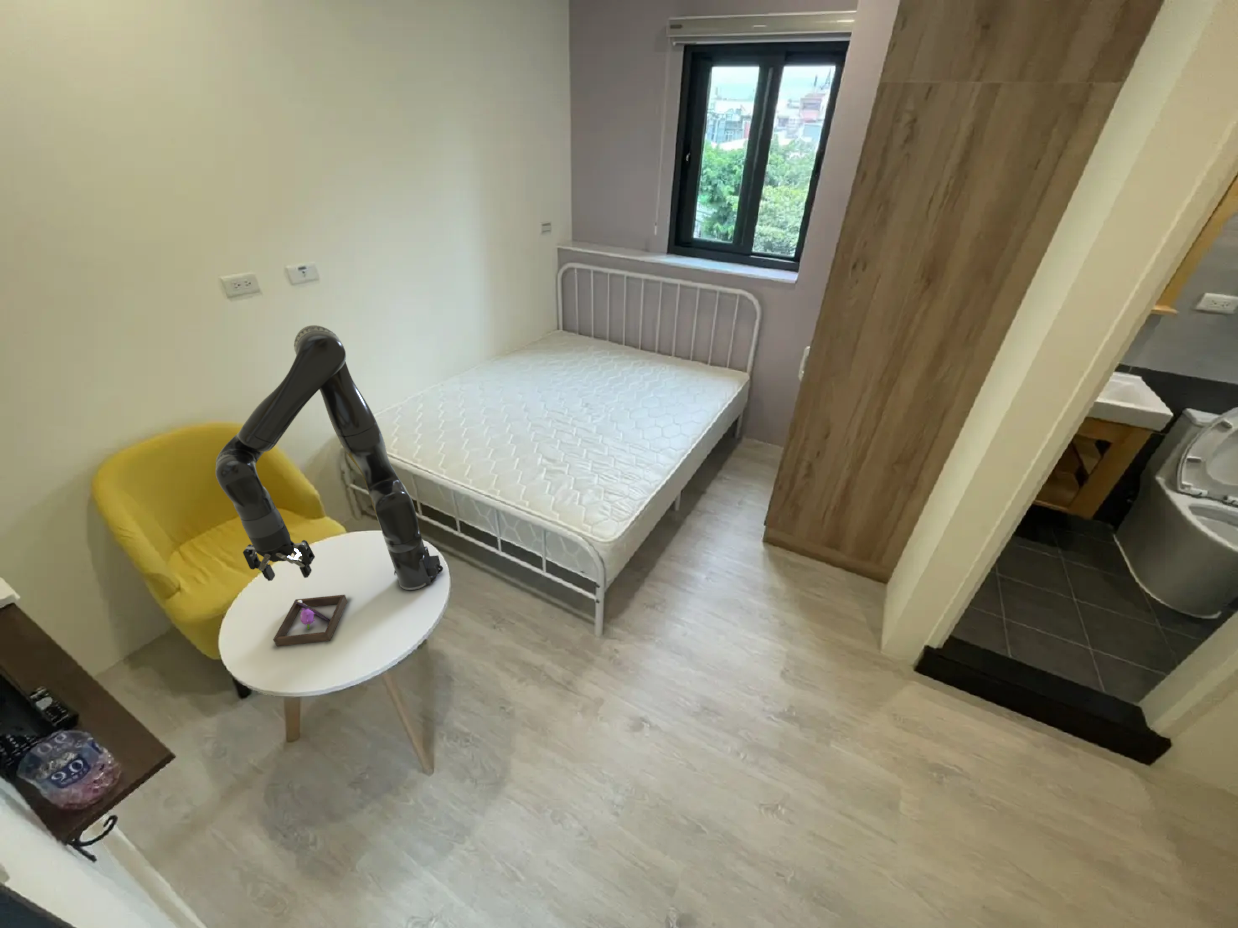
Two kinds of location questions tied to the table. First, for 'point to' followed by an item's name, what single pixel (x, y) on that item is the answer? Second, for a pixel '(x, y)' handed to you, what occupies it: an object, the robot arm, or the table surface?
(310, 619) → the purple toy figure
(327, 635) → the brown square frame
